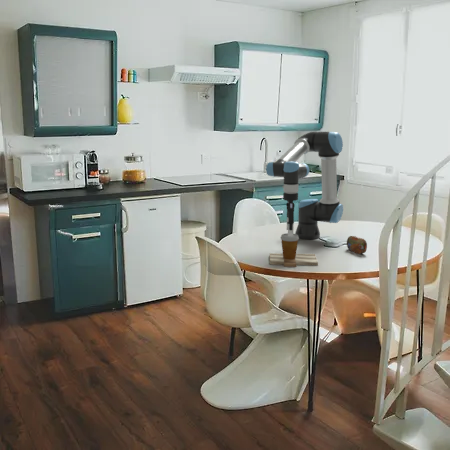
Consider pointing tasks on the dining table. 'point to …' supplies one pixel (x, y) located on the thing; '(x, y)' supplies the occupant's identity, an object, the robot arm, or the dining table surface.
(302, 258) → the board
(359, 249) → the tin
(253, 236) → the dining table surface
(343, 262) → the dining table surface
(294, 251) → the disposable coffee cup
